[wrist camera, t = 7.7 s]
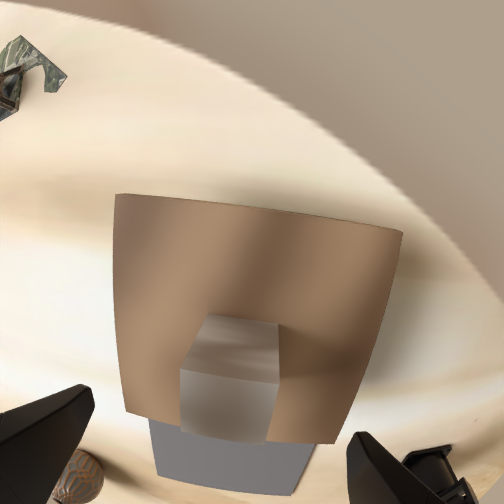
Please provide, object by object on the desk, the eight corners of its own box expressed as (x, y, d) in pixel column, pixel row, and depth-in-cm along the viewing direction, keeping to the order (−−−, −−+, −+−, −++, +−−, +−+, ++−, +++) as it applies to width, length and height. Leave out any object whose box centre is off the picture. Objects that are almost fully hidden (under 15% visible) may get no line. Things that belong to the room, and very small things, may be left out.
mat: (328, 406, 21) (328, 409, 20) (290, 493, 24) (290, 495, 24) (145, 379, 21) (144, 382, 21) (158, 472, 25) (157, 475, 24)
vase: (109, 458, 25) (81, 508, 17) (111, 481, 27) (89, 524, 18) (62, 433, 25) (30, 476, 17) (69, 458, 27) (42, 497, 18)
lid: (394, 229, 13) (459, 254, 7) (332, 433, 15) (344, 500, 10) (125, 193, 13) (51, 200, 8) (131, 402, 16) (96, 459, 11)
